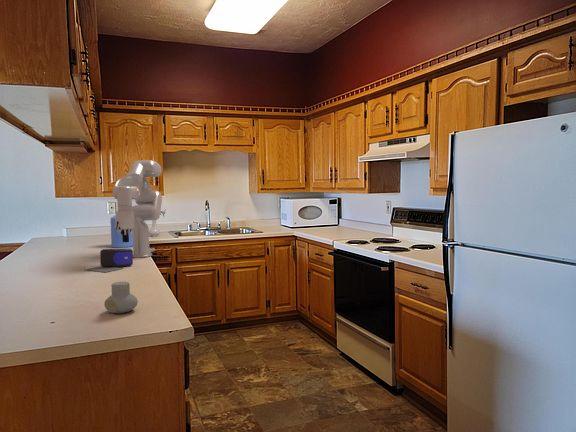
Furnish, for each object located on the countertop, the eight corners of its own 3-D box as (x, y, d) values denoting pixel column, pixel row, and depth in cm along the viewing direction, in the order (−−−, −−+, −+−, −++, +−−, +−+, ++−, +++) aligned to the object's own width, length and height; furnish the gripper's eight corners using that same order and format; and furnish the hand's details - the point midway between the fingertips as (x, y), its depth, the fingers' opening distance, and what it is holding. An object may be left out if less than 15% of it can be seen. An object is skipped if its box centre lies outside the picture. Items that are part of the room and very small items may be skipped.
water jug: (127, 248, 305) (126, 208, 303) (106, 248, 308) (105, 208, 306) (138, 245, 321) (137, 206, 319) (118, 244, 323) (117, 206, 321)
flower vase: (168, 236, 375) (167, 206, 373) (145, 237, 366) (144, 207, 364) (164, 234, 386) (163, 206, 384) (142, 236, 377) (141, 206, 376)
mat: (101, 266, 238) (101, 265, 237) (122, 269, 230) (122, 268, 230) (84, 270, 228) (84, 269, 228) (105, 272, 220) (105, 272, 220)
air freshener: (101, 311, 153) (100, 283, 152) (122, 306, 160) (121, 279, 159) (120, 316, 147) (119, 287, 146) (141, 310, 154) (140, 282, 153)
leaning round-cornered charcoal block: (99, 267, 230) (99, 249, 230) (100, 266, 235) (100, 249, 234) (132, 266, 236) (132, 249, 235) (132, 265, 240) (132, 248, 240)
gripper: (130, 208, 248) (131, 240, 249) (108, 209, 235) (109, 243, 236) (140, 208, 245) (141, 241, 246) (118, 209, 232) (119, 243, 233)
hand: (125, 242), depth 241 cm, fingers closed
